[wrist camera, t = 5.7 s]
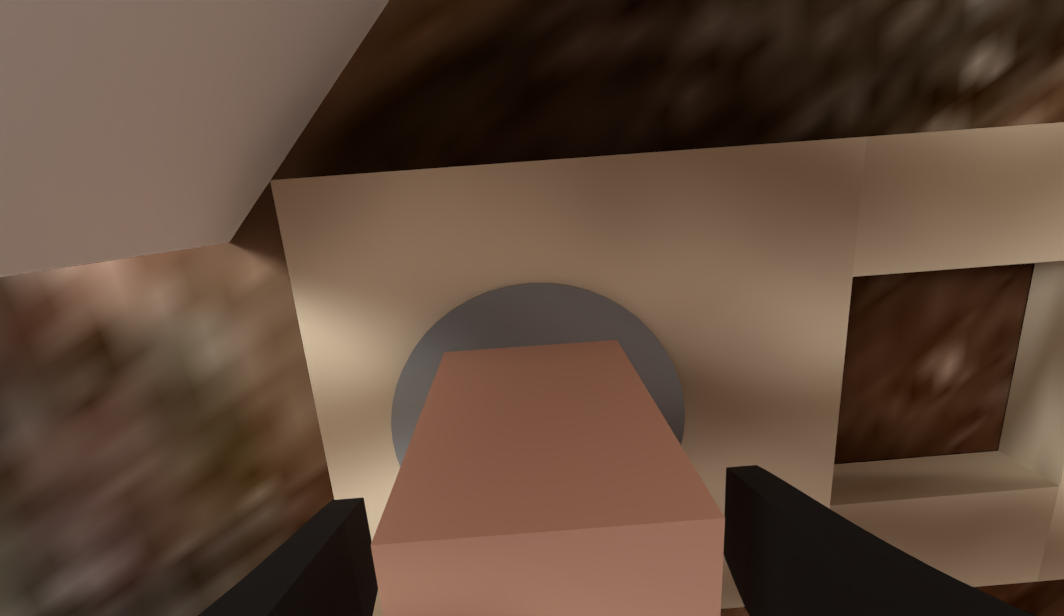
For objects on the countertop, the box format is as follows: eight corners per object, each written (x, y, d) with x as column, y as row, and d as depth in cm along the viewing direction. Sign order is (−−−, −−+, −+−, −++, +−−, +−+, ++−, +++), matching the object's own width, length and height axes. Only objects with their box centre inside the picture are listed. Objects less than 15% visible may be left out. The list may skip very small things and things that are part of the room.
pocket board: (1049, 531, 18) (1124, 582, 16) (379, 588, 18) (359, 648, 16) (1148, 117, 14) (1264, 107, 12) (303, 178, 14) (264, 180, 12)
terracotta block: (619, 489, 14) (713, 772, 8) (461, 501, 14) (414, 798, 8) (617, 339, 13) (725, 517, 6) (444, 351, 13) (370, 544, 6)
